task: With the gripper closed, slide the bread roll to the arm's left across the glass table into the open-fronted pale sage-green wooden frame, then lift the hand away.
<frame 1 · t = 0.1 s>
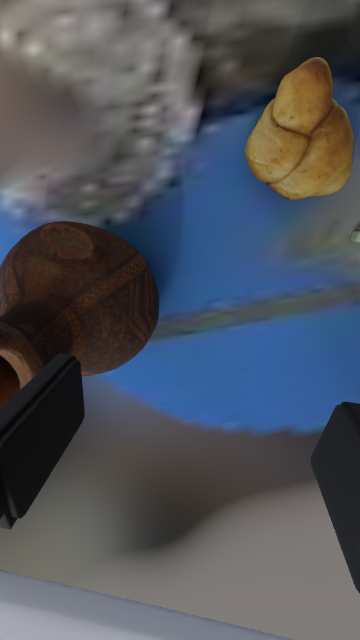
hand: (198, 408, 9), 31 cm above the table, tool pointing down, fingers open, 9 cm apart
bread roll: (293, 157, 31), on the table
jug: (104, 286, 42), on the table
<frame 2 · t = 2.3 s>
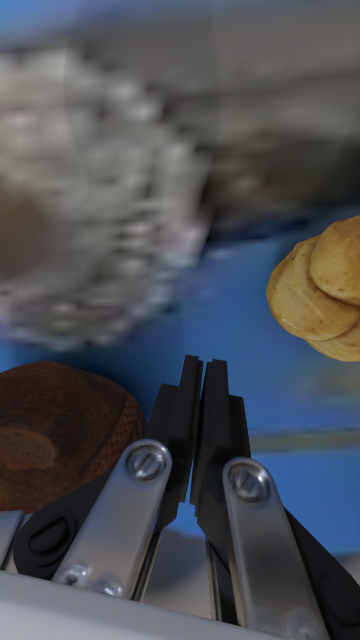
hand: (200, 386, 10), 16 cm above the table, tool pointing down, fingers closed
bread roll: (328, 290, 24), on the table
jug: (87, 405, 35), on the table
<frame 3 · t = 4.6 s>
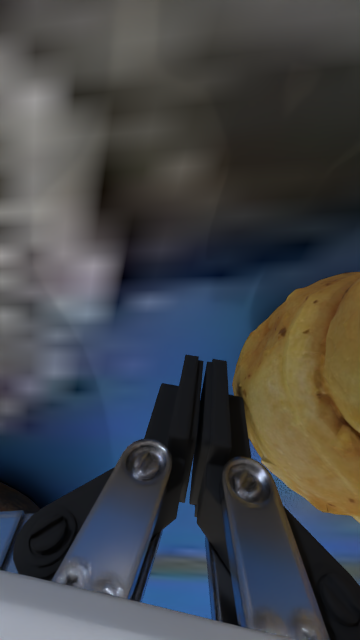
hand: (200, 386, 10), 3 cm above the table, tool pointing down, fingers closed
bread roll: (351, 368, 13), on the table, touching gripper
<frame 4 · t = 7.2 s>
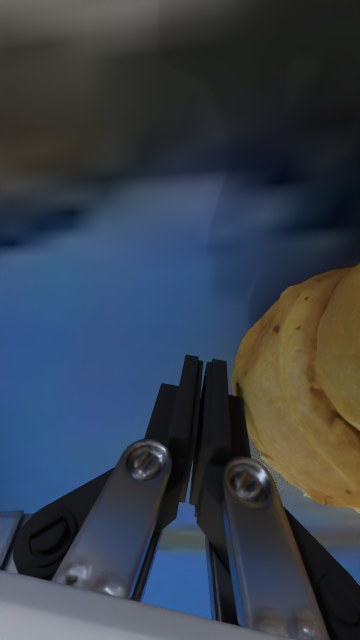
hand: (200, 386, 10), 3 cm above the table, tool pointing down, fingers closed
bread roll: (350, 362, 13), on the table, touching gripper
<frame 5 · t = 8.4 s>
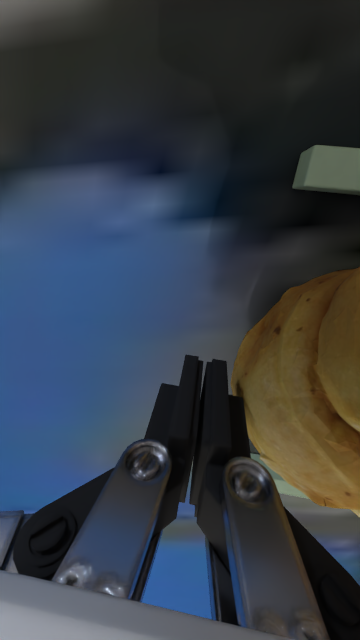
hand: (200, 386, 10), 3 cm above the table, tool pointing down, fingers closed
bread roll: (349, 364, 13), on the table, touching gripper
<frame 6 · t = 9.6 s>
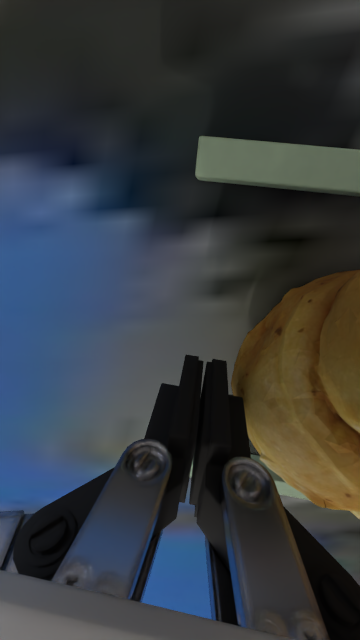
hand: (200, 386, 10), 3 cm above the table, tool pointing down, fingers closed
bread roll: (349, 366, 13), on the table, touching gripper
frame: (335, 364, 13), on the table
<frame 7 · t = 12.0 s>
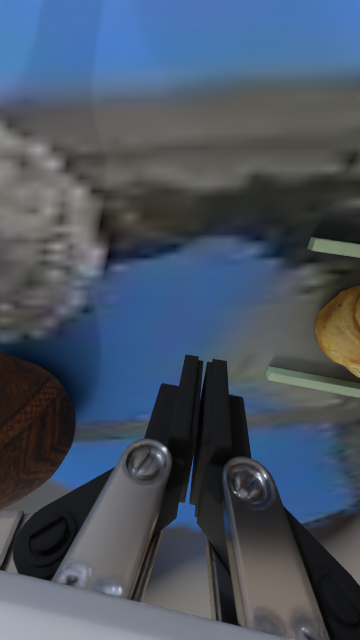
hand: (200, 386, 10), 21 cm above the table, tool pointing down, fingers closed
frame: (355, 325, 29), on the table
jug: (29, 391, 41), on the table
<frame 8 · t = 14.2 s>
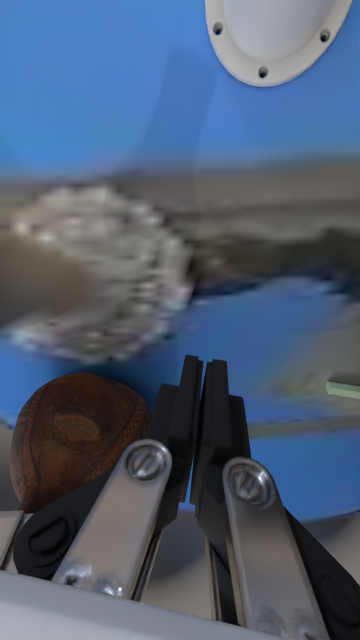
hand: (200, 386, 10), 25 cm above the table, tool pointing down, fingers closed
jug: (107, 404, 47), on the table
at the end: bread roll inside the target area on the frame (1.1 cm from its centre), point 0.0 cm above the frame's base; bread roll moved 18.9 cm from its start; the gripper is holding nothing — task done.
